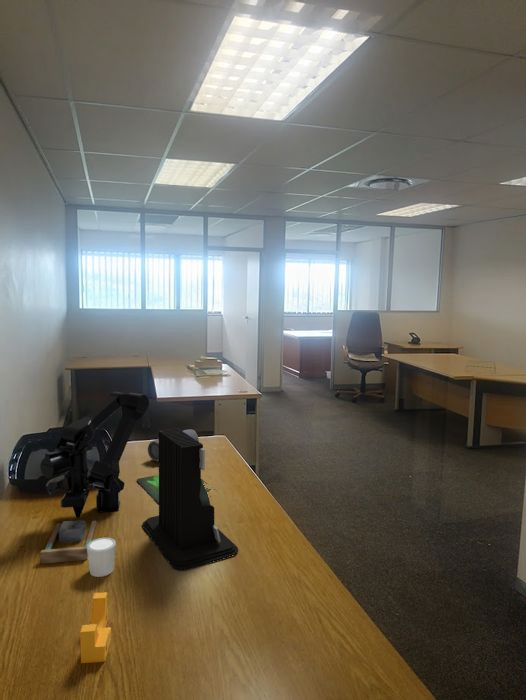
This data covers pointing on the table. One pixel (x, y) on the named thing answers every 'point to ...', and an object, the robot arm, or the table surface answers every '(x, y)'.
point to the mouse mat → (154, 486)
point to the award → (185, 506)
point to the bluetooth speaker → (154, 445)
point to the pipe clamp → (96, 632)
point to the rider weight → (72, 531)
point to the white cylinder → (101, 556)
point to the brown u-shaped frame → (65, 553)
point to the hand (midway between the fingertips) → (78, 517)
